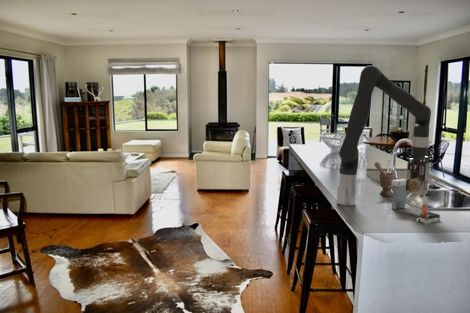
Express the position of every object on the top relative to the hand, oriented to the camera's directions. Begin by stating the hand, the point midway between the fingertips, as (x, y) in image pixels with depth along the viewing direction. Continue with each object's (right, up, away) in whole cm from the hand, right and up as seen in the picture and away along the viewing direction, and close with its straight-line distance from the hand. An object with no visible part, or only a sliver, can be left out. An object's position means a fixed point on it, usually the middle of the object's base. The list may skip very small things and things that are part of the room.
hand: (417, 177), depth 193 cm
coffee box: (0, -8, +1) cm, 8 cm away
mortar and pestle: (-3, -13, +37) cm, 39 cm away
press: (-2, -19, 0) cm, 19 cm away
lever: (-3, -20, -11) cm, 24 cm away
